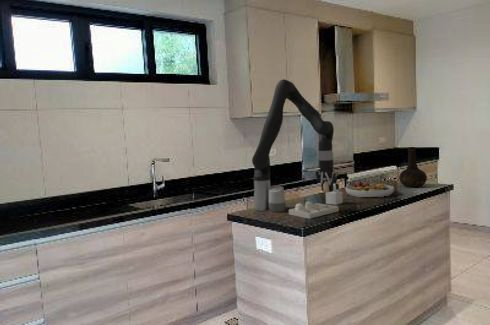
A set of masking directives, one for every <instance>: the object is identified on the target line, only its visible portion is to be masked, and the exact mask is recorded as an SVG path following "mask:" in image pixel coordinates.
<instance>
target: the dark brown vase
mask: <svg viewBox="0 0 490 325" xmlns="http://www.w3.org/2000/svg"><path fill="white" fill-rule="evenodd" d="M406 151H407V152H408V157H407V158H408V159H407V167H406V169H404V170H401V172H400V174H399V176H398V180H399V181H400V183H401V184H402V186H404V187H406V186H408V187H407V188H420V187H423V186H424V185H425V184H426V182H427V179H428V176H427V173H426V171H424V170H422V169H420V168H419V167H418V163H417V158H416V151H417V149H416V147H414V146H410V147H408V149H407V150H406Z"/></svg>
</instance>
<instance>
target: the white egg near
mask: <svg viewBox="0 0 490 325" xmlns="http://www.w3.org/2000/svg"><path fill="white" fill-rule="evenodd" d="M304 206H305V205H303V204H302V203H300V202H299V203H296V205H295V206H294V208H295V210H296V211H302V210H304Z"/></svg>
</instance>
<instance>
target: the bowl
mask: <svg viewBox="0 0 490 325" xmlns="http://www.w3.org/2000/svg"><path fill="white" fill-rule="evenodd" d="M394 190H395V187H394V186H393V185H389V184H384V183H369V182H368V181H363V182H362V181H360V180H357V181H355V182H353V184H350V185H346V186H345V192H346V194H347V195H349V196H351V197H354V196H355V198H361V197H378V198H385V197H384V196H386V197H388V196H391V195H392V194H393V193H394Z"/></svg>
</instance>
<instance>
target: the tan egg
mask: <svg viewBox="0 0 490 325" xmlns="http://www.w3.org/2000/svg"><path fill="white" fill-rule="evenodd" d="M322 192H323V193H325V194H326V193H329V182H328V180H326V181H325V182H324V184H323V191H322Z"/></svg>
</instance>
